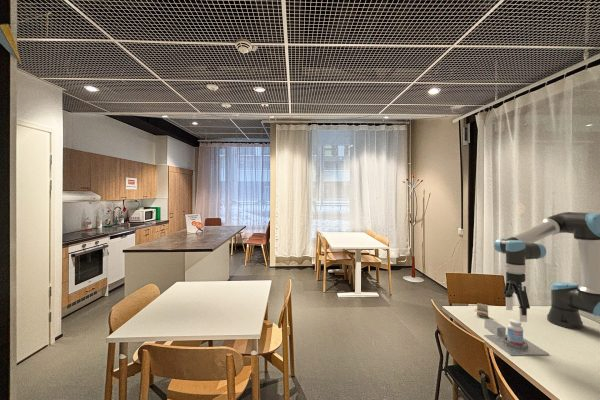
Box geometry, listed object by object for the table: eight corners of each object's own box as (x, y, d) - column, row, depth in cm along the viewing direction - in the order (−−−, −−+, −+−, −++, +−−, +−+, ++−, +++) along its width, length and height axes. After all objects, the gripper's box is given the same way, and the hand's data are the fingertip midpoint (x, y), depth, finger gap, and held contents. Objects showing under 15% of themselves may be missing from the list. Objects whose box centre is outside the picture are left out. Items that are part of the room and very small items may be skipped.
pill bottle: (511, 346, 136) (511, 323, 136) (504, 340, 142) (505, 317, 142) (525, 347, 135) (526, 324, 135) (518, 341, 141) (518, 318, 141)
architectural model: (487, 319, 169) (488, 307, 169) (474, 316, 173) (474, 304, 173) (488, 317, 172) (488, 305, 172) (474, 314, 176) (474, 302, 176)
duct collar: (504, 327, 158) (504, 319, 158) (549, 355, 130) (549, 345, 130) (472, 327, 157) (472, 319, 157) (510, 355, 129) (510, 345, 129)
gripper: (495, 265, 151) (496, 305, 151) (519, 279, 127) (520, 326, 127) (512, 266, 149) (512, 306, 150) (539, 280, 125) (539, 327, 125)
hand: (515, 315), depth 138 cm, fingers open, 13 cm apart
